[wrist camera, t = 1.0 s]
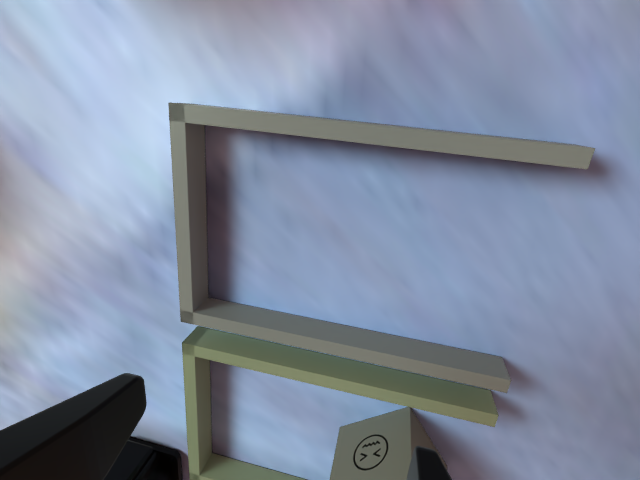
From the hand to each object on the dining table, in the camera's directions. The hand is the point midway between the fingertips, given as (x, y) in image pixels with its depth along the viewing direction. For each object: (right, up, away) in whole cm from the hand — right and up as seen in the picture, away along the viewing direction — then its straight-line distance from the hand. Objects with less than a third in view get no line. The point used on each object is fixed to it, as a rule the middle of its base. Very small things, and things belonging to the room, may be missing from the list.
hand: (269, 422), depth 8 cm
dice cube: (+6, -9, +15) cm, 19 cm away
